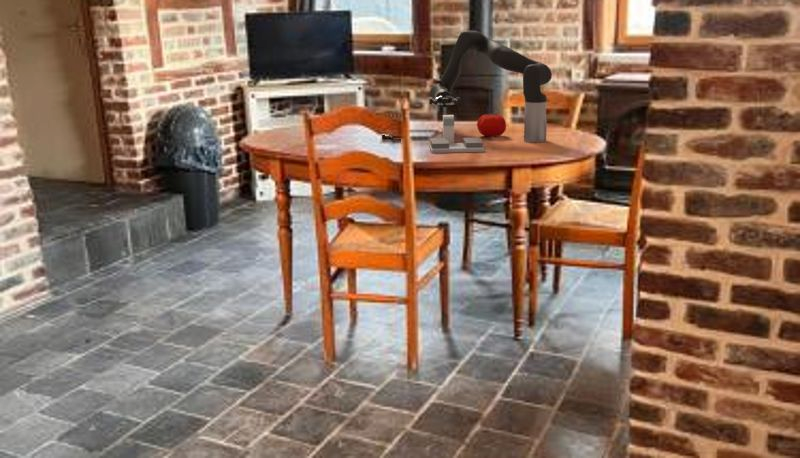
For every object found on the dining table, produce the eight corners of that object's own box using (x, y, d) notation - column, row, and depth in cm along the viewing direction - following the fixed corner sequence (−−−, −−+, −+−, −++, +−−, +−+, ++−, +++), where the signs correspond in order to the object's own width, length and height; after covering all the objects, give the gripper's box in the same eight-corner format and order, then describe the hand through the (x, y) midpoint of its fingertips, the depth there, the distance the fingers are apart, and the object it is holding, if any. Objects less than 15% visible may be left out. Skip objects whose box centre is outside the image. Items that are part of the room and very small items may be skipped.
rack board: (479, 144, 336) (479, 136, 335) (484, 151, 320) (484, 143, 319) (429, 146, 335) (428, 138, 334) (431, 152, 320) (431, 144, 319)
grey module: (453, 141, 345) (453, 114, 341) (454, 144, 340) (454, 116, 336) (442, 142, 345) (442, 115, 341) (443, 144, 340) (443, 116, 336)
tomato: (505, 134, 362) (505, 111, 359) (506, 138, 351) (506, 115, 348) (476, 134, 364) (477, 111, 361) (476, 138, 352) (476, 115, 349)
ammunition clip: (405, 138, 356) (404, 112, 353) (405, 139, 354) (404, 112, 351) (381, 138, 356) (381, 112, 353) (381, 139, 355) (380, 113, 351)
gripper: (428, 90, 363) (430, 94, 347) (458, 89, 363) (461, 94, 348) (427, 106, 365) (430, 111, 350) (458, 106, 365) (461, 110, 350)
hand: (445, 102), depth 349 cm, fingers open, 8 cm apart
